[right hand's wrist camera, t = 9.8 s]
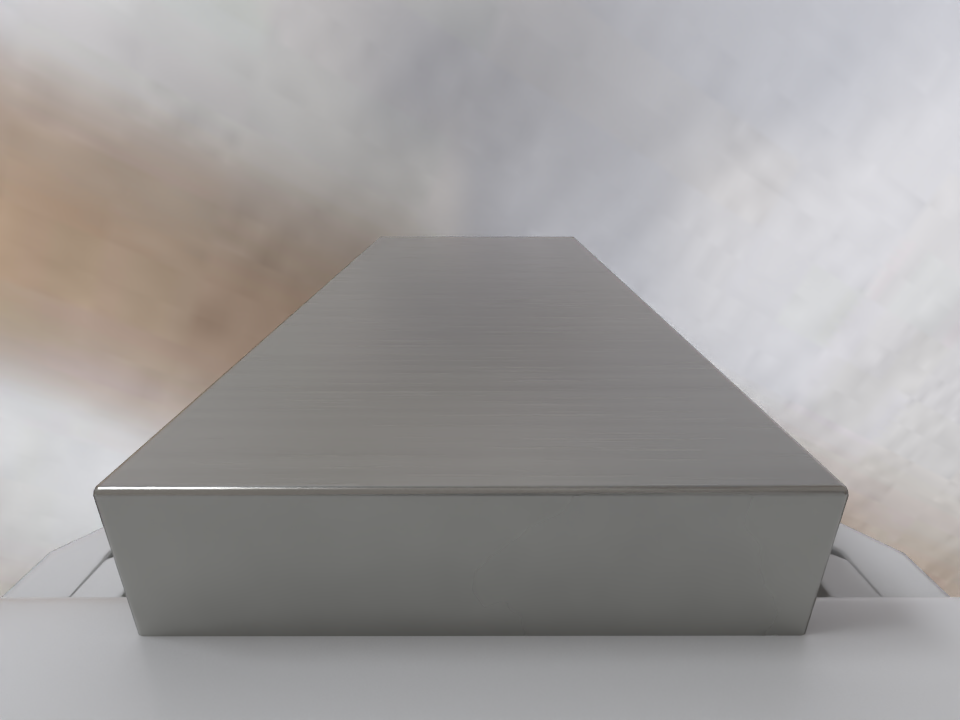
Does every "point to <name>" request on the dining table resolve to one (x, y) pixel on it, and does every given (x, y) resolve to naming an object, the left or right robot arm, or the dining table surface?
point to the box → (472, 468)
